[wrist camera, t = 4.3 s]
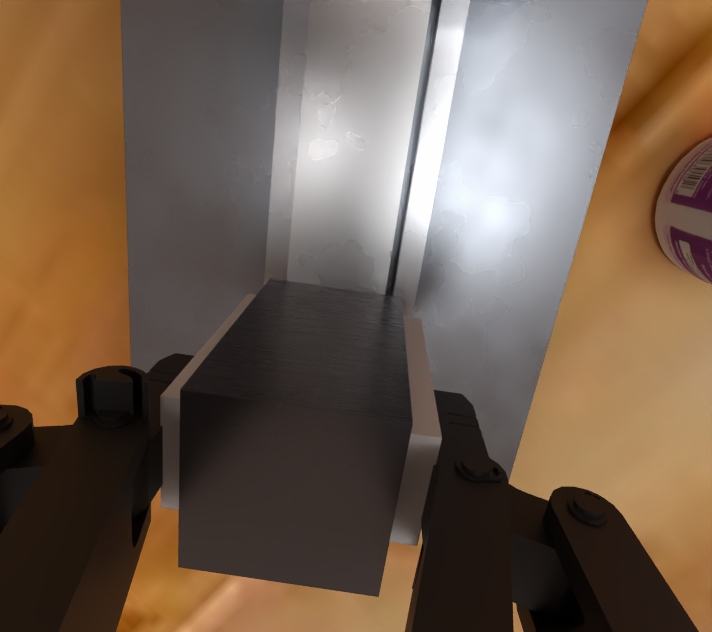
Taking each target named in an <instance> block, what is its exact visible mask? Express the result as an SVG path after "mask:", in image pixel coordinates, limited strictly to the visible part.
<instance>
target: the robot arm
mask: <svg viewBox="0 0 712 632" xmlns="http://www.w3.org/2000/svg"><path fill="white" fill-rule="evenodd" d="M255 296H256V295H254V294H247V296H246V297H245V298H244V299H243V300H242V301H241V303H240V304H239V305H238V306H237V307H236V308H235V310H234V311H233V312H232V313H231V314H230V315H229V317H228V318H227V319H226V320H225V321H224V322H223V324H222V325H221V326H220V327H219V328H218V329H217V331H216V332H215V333H214V334H213V335H212V336H211V338H210V339H209V340H208V341H207V342H206V343H205V345H204V346H203V347H202V348H201V349H200V350H199V352H198V353H197V354H196V355H195V356H193V355H186V354H179V353H174V354H172V355H170V356H168V357H165V358H163V359H161V360H159V361H158V362H157V363H156V364H155V365H154V366H153V367H152V368H151V369H150V372H147V373H145V372H144V371H142V370H140V369H138V368H135V367H129V366H106V367H101V368H96V369H93V370H91V371H88V372H86V373H83V374H82V375H81V376H80V377H78V378H77V379H76V390H77V403H78V418H77V419H76V421H75V422H74V424H73V425H65V426H45V427H33V418H32V414H31V413H30V412H29V411H28V410H27V409H25V408H22V407H19V406H16V405H0V632H116V629H117V626H118V623H119V620H120V617H121V614H122V610H123V607H124V604H125V601H126V598H127V595H128V591H129V588H130V585H131V582H132V579H133V575H134V572H135V569H136V566H137V563H138V560H139V556H140V553H141V550H142V547H143V544H144V541H145V537H146V534H147V531H148V528H149V525H150V522H151V501H152V500H153V498H154V496H155V495H156V493H157V492H158V490H159V489H160V487H161V507H163V508H170V509H177V510H179V444H180V389H181V388H182V387H183V385H184V384H185V383H186V382H187V380H188V379H189V378H190V377H191V375H192V374H193V373H194V372H195V370H196V369H197V368H198V367H199V366H200V364H201V363H202V362H203V361H204V359H205V358H206V357H207V356H208V354H209V353H210V352H211V351H212V349H213V348H214V347H215V346H216V345H217V343H218V342H219V341H220V340H221V338H222V337H223V336H224V335H225V333H226V332H227V331H228V330H229V328H230V327H231V326H232V325H233V323H234V322H235V321H236V320H237V319H238V317H239V316H240V315H241V314H242V312H243V311H244V310H245V309H246V307H247V306H248V305H249V304H250V302H251V301H252V300H253V299H254V298H255ZM403 320H404V331H405V342H406V353H407V364H408V375H409V386H410V397H411V408H412V419H413V425H412V430H411V436H410V441H409V446H408V451H407V456H406V461H405V466H404V471H403V476H402V481H401V486H400V491H399V496H398V501H397V506H396V511H395V516H394V521H393V526H392V531H391V536H390V542H396V543H403V544H410V545H416V546H417V545H418V540H419V536H420V532H421V527H422V539H423V543H422V547H421V552H420V556H419V560H418V565H417V569H416V573H415V577H414V582H413V586H412V589H413V592H412V597H411V602H410V607H409V613H408V618H407V623H406V629H405V632H513V603H512V602H514V603H516V605H517V611H518V615H519V618H520V621H521V624H522V628H523V631H524V632H699V631H698V630H697V628H696V627H695V625H694V624H693V622H692V621H691V619H690V617H689V616H688V614H687V613H686V611H685V610H684V608H683V607H682V605H681V604H680V602H679V601H678V599H677V598H676V596H675V595H674V593H673V592H672V590H671V589H670V587H669V585H668V584H667V582H666V581H665V579H664V578H663V576H662V575H661V573H660V572H659V570H658V569H657V567H656V566H655V564H654V563H653V561H652V560H651V558H650V556H649V555H648V553H647V552H646V550H645V549H644V547H643V546H642V544H641V543H640V541H639V540H638V538H637V537H636V535H635V534H634V532H633V531H632V529H631V528H630V526H629V524H628V523H627V521H626V520H625V518H624V517H623V515H622V514H621V513H620V512H619V511H618V510H617V509H616V507H615V506H614V505H613V504H611V503H610V502H608V501H607V500H606V499H604V498H603V497H601V496H600V495H598V494H596V493H593V492H591V491H589V490H586V489H581V488H577V487H560V488H558V489H556V490H554V491H553V493H552V494H551V496H550V499H549V501H547V500H544V499H542V498H539V497H536V496H533V495H531V494H528V493H525V492H523V491H521V490H519V489H516V488H515V487H513V486H511V485H510V484H508V477H507V474H506V472H505V470H504V469H503V468H502V467H501V466H500V465H499V464H498V463H497V462H495V461H494V460H492V459H491V458H489V455H488V452H487V449H486V446H485V442H484V439H483V436H482V433H481V429H479V423H478V420H477V419H476V413H475V410H474V407H473V405H472V404H471V403H470V402H469V400H468V399H467V398H466V397H465V396H464V395H463V394H460V393H453V392H446V391H440V390H433V384H432V378H431V373H430V367H429V361H428V356H427V350H426V344H425V339H424V333H423V327H422V322H421V319H418V318H411V317H404V316H403Z"/></svg>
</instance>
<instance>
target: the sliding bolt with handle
mask: <svg viewBox="0 0 712 632" xmlns="http://www.w3.org/2000/svg"><path fill="white" fill-rule="evenodd" d="M431 3H432V0H311V2H310V13H309V25H308V36H307V48H306V60H305V71H304V83H303V94H302V106H301V118H300V129H299V141H298V152H297V164H296V176H295V187H294V199H293V210H292V222H291V234H290V245H289V257H288V268H287V280H286V281H285V280H278V279H271V278H270V279H269V280H268V281H267V283H266V284H265V285H264V286H263V288H262V289H261V290H260V291H259V293H258V294H257V295H256V296H255V298H254V299H253V300H252V301H251V302H250V304H249V305H248V306H247V307H246V309H245V310H244V311H243V312H242V314H241V315H240V316H239V317H238V319H237V320H236V321H235V322H234V323H233V325H232V326H231V327H230V328H229V330H228V331H227V332H226V333H225V335H224V336H223V337H222V338H221V340H220V341H219V342H218V343H217V345H216V346H215V347H214V348H213V349H212V351H211V352H210V353H209V354H208V356H207V357H206V358H205V359H204V361H203V362H202V363H201V364H200V366H199V367H198V368H197V369H196V370H195V372H194V373H193V374H192V375H191V377H190V378H189V379H188V380H187V382H186V383H185V384H184V385H183V387H182V388H181V389H180V444H179V547H178V567H181V568H188V569H195V570H201V571H208V572H215V573H221V574H228V575H235V576H242V577H248V578H255V579H262V580H268V581H275V582H282V583H289V584H295V585H302V586H309V587H316V588H322V589H329V590H336V591H342V592H349V593H356V594H363V595H369V596H376V597H379V592H380V587H381V582H382V576H383V571H384V566H385V561H386V556H387V551H388V546H389V541H390V536H391V531H392V526H393V521H394V516H395V511H396V506H397V501H398V496H399V491H400V486H401V481H402V476H403V471H404V466H405V461H406V456H407V451H408V446H409V441H410V436H411V430H412V425H413V419H412V408H411V397H410V386H409V375H408V364H407V353H406V342H405V331H404V320H403V309H402V298H401V297H397V296H390V295H385V291H386V285H387V279H388V273H389V266H390V260H391V254H392V248H393V241H394V235H395V229H396V222H397V216H398V210H399V204H400V197H401V191H402V185H403V179H404V172H405V166H406V160H407V153H408V147H409V141H410V135H411V128H412V122H413V116H414V110H415V103H416V97H417V91H418V84H419V78H420V72H421V66H422V59H423V53H424V47H425V41H426V34H427V28H428V22H429V15H430V9H431Z"/></svg>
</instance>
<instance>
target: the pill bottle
mask: <svg viewBox="0 0 712 632" xmlns="http://www.w3.org/2000/svg"><path fill="white" fill-rule="evenodd" d="M655 227H656V233H657V236H658V240H659V243H660V245H661V248H662V250H663V251H664V253H665V254H666V256H667V257H668V258H669V259H670V260H671V261H672V262H673V263H674V264H675V265H676V266H678V267H679V268H680V269H682V270H683V271H685V272H687V273H689V274H691V275H693V276H695V277H697V278H699V279H701V280H703V281H705V282H707V283H710V284H712V137H711V138H709V139H706V140H704V141H703V142H701V143H700V144H698V145H697V146H696V147H695V148H693V149H692V150H691V151H690V152H689V153H688V154H687V155H686V156H684V157H683V158H682V159H681V161H680V162H679V163H678V164H677V165H676V167H675V168H674V170H673V171H672V172H671V174H670V175H669V177H668V179H667V181H666V183H665V184H664V186H663V188H662V190H661V193H660V195H659V197H658V200H657V206H656V212H655Z"/></svg>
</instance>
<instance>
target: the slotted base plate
mask: <svg viewBox="0 0 712 632" xmlns="http://www.w3.org/2000/svg"><path fill="white" fill-rule="evenodd" d="M310 2H311V0H121V28H122V63H123V98H124V134H125V169H126V204H127V239H128V275H129V310H130V345H131V367H135V368H138V369H140V370H142V371H144V372H145V373H147V372H150V369H151V368H152V367H153V366H154V365H155V364H156V363H157V362H158V361H159V360H161V359H163V358H165V357H168V356H170V355H172V354H174V353H179V354H186V355H193V356H195V355H196V354H197V353H198V352H199V350H200V349H201V348H202V347H203V346H204V345H205V343H206V342H207V341H208V340H209V339H210V338H211V336H212V335H213V334H214V333H215V332H216V331H217V329H218V328H219V327H220V326H221V325H222V324H223V322H224V321H225V320H226V319H227V318H228V317H229V315H230V314H231V313H232V312H233V311H234V310H235V308H236V307H237V306H238V305H239V304H240V303H241V301H242V300H243V299H244V298H245V297H246V296H247V294H254V295H257V294H258V293H259V291H260V290H261V289H262V288H263V286H264V285H265V284H266V283H267V281H268V280H269V279H270V278H271V279H278V280H285V281H286V280H287V268H288V257H289V245H290V234H291V222H292V210H293V199H294V187H295V176H296V164H297V152H298V141H299V129H300V118H301V106H302V94H303V83H304V71H305V60H306V48H307V36H308V25H309V13H310ZM647 2H648V0H432V3H431V9H430V15H429V22H428V28H427V34H426V41H425V47H424V53H423V59H422V66H421V72H420V78H419V84H418V91H417V97H416V103H415V110H414V116H413V122H412V128H411V135H410V141H409V147H408V153H407V160H406V166H405V172H404V179H403V185H402V191H401V197H400V204H399V210H398V216H397V222H396V229H395V235H394V241H393V248H392V254H391V260H390V266H389V273H388V279H387V285H386V291H385V295H390V296H397V297H401V298H402V309H403V316H404V317H411V318H418V319H421V322H422V327H423V333H424V339H425V344H426V350H427V356H428V361H429V367H430V373H431V378H432V384H433V390H440V391H446V392H453V393H460V394H463V395H464V396H465V397H466V398H467V399H468V400H469V402H470V403H471V404H472V405H473V407H474V410H475V413H476V419H477V420H478V423H479V429H481V433H482V436H483V439H484V442H485V446H486V449H487V452H488V455H489V458H491V459H492V460H494V461H495V462H497V463H498V464H499V465H500V466H501V467H502V468H503V469H504V470H505V472H506V474H507V477H508V482H509V478H510V475H511V471H512V468H513V464H514V461H515V457H516V454H517V450H518V447H519V444H520V440H521V437H522V433H523V430H524V426H525V423H526V419H527V416H528V412H529V409H530V406H531V402H532V399H533V395H534V392H535V388H536V385H537V381H538V378H539V375H540V371H541V368H542V364H543V361H544V357H545V354H546V350H547V347H548V343H549V340H550V337H551V333H552V330H553V326H554V323H555V319H556V316H557V312H558V309H559V305H560V302H561V299H562V295H563V292H564V288H565V285H566V281H567V278H568V274H569V271H570V268H571V264H572V261H573V257H574V254H575V250H576V247H577V243H578V240H579V236H580V233H581V230H582V226H583V223H584V219H585V216H586V212H587V209H588V205H589V202H590V198H591V195H592V192H593V188H594V185H595V181H596V178H597V174H598V171H599V167H600V164H601V161H602V157H603V154H604V150H605V147H606V143H607V140H608V136H609V133H610V129H611V126H612V123H613V119H614V116H615V112H616V109H617V105H618V102H619V98H620V95H621V91H622V88H623V85H624V81H625V78H626V74H627V71H628V67H629V64H630V60H631V57H632V54H633V50H634V47H635V43H636V40H637V36H638V33H639V29H640V26H641V22H642V19H643V16H644V12H645V9H646V5H647Z"/></svg>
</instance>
